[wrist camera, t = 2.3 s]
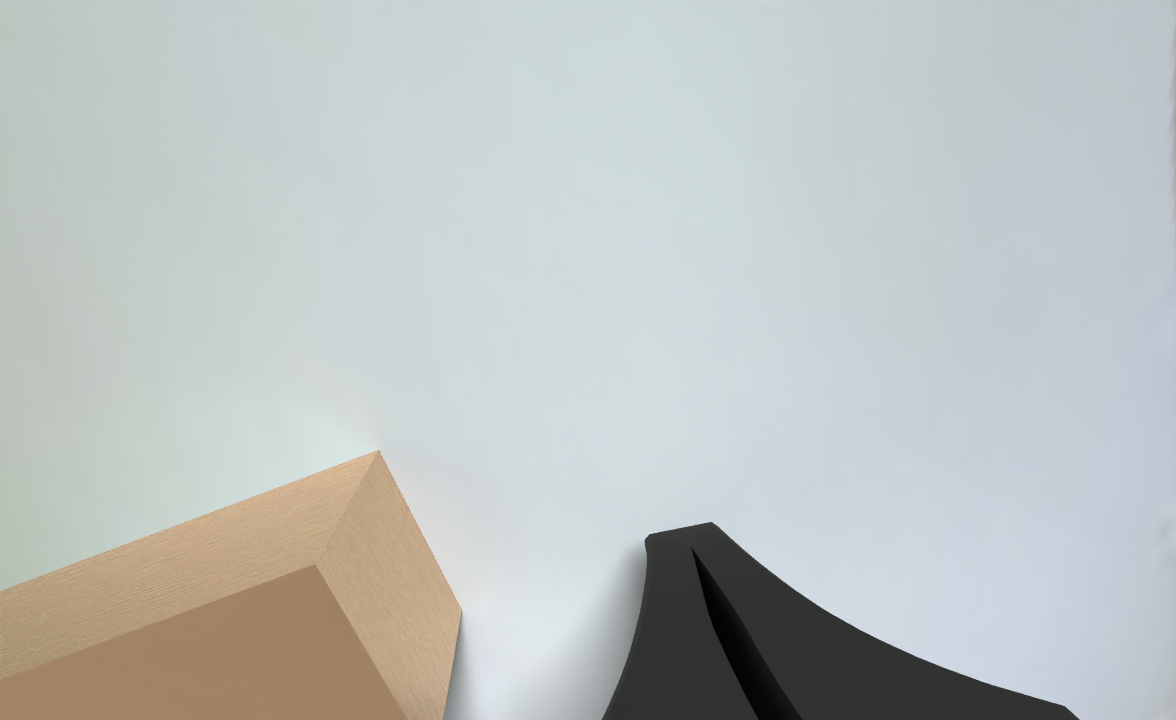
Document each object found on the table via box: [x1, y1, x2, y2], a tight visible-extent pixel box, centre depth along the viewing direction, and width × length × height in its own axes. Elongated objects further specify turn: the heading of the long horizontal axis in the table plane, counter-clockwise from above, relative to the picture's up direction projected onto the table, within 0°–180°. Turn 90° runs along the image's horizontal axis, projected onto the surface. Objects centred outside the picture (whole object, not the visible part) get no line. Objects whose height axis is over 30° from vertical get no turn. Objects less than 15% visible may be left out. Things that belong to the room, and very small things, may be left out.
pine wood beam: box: [0, 450, 462, 720], centre depth 12 cm, size 4×14×4 cm, turn 110°
